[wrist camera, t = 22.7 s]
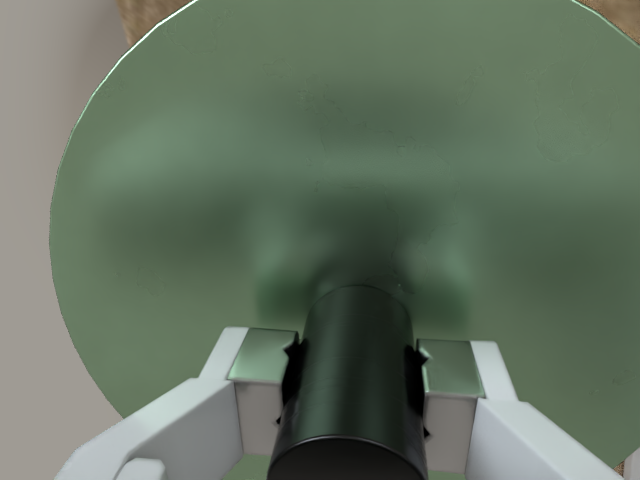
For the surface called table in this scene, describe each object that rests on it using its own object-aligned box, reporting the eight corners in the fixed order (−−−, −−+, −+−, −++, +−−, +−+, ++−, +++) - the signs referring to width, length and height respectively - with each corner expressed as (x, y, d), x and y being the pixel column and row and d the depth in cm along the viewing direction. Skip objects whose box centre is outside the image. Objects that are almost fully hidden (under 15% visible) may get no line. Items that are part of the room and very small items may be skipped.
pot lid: (601, 520, 13) (718, 782, 9) (140, 473, 15) (32, 672, 10) (824, -61, 7) (1644, -229, 3) (0, -27, 9) (-415, -87, 4)
